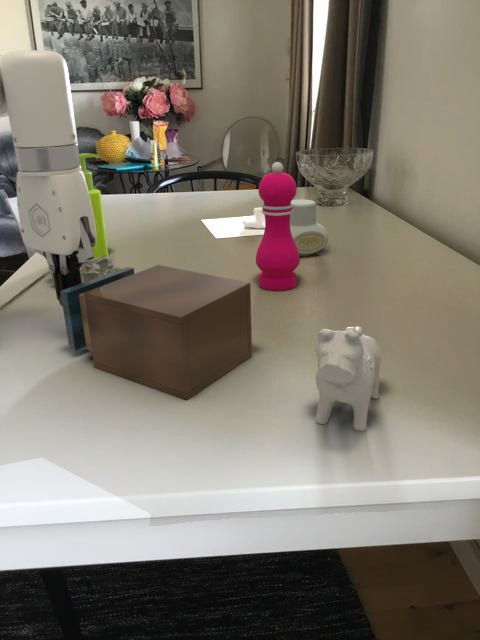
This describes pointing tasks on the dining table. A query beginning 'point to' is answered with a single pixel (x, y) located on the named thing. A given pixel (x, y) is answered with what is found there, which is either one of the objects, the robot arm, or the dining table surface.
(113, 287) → the cabinet
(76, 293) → the drawer
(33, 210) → the robot arm
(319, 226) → the air freshener
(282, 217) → the pepper mill
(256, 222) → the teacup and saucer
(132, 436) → the dining table surface
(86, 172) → the soap dispenser
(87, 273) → the egg carton
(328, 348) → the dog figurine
